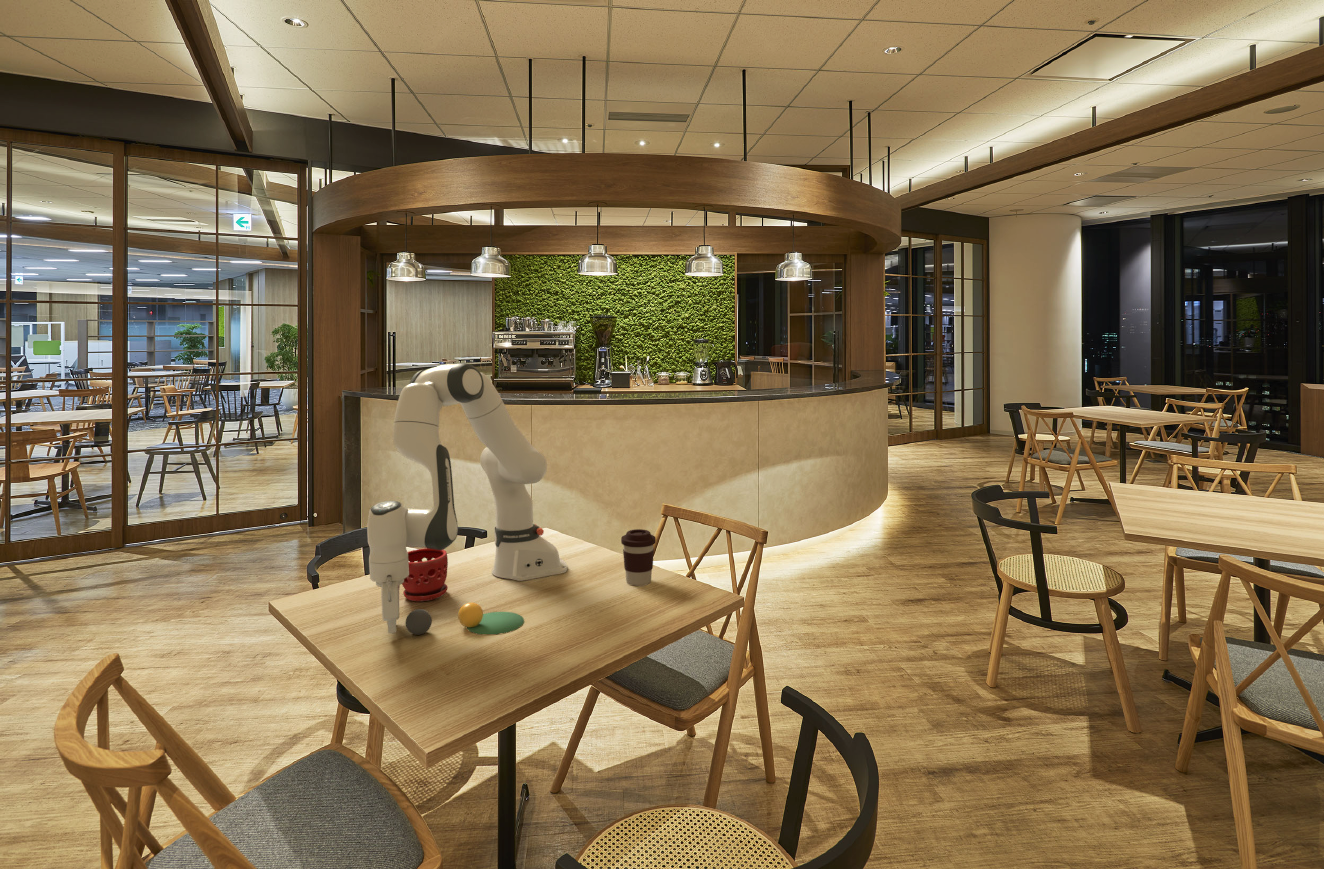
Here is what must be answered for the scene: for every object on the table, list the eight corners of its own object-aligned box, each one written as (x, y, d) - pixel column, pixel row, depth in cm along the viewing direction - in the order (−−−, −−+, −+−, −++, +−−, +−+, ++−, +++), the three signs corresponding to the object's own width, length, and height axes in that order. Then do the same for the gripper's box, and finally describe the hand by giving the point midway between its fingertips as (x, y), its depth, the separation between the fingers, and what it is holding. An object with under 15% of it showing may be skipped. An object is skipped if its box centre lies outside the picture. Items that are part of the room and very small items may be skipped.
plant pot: (426, 585, 205) (424, 544, 203) (459, 593, 198) (457, 551, 196) (388, 599, 193) (386, 556, 192) (422, 608, 187) (420, 564, 185)
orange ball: (453, 618, 176) (475, 625, 178) (454, 627, 171) (478, 634, 173) (463, 595, 176) (485, 603, 179) (465, 604, 171) (488, 611, 173)
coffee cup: (615, 585, 204) (615, 534, 202) (630, 574, 213) (629, 526, 211) (647, 590, 200) (647, 538, 198) (660, 579, 209) (660, 529, 207)
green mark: (519, 609, 186) (519, 608, 186) (528, 630, 173) (528, 629, 173) (463, 616, 181) (463, 616, 181) (469, 638, 168) (469, 637, 168)
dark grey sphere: (401, 611, 172) (410, 633, 173) (401, 621, 166) (410, 643, 167) (426, 601, 173) (435, 622, 175) (426, 610, 168) (435, 632, 169)
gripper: (403, 582, 162) (406, 639, 164) (403, 556, 181) (405, 608, 183) (373, 585, 160) (377, 643, 161) (376, 558, 179) (379, 611, 181)
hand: (392, 624), depth 172 cm, fingers open, 8 cm apart
